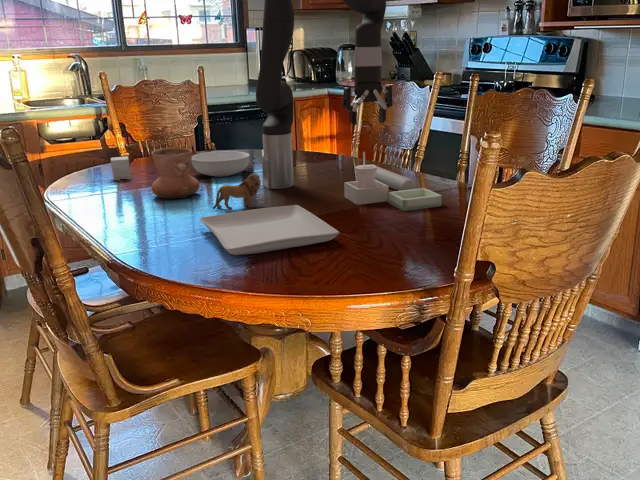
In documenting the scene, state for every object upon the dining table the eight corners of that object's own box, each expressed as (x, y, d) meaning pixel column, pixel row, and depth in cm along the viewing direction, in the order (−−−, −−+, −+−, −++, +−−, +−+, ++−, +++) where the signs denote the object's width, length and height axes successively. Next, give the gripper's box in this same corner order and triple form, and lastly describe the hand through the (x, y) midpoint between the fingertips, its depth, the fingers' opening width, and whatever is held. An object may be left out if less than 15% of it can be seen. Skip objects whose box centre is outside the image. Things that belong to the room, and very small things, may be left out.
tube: (420, 180, 179) (379, 165, 201) (406, 177, 177) (366, 162, 198) (415, 197, 180) (375, 180, 202) (400, 194, 178) (362, 177, 199)
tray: (403, 210, 162) (403, 200, 161) (387, 202, 171) (387, 192, 170) (441, 206, 165) (442, 195, 165) (424, 197, 174) (424, 187, 173)
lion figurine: (258, 201, 176) (256, 171, 173) (264, 205, 171) (263, 175, 168) (210, 208, 170) (207, 177, 167) (215, 212, 165) (213, 181, 162)
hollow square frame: (357, 204, 169) (357, 189, 168) (344, 196, 178) (344, 182, 176) (388, 201, 172) (388, 185, 171) (374, 193, 181) (374, 179, 179)
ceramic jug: (208, 197, 181) (204, 151, 177) (162, 205, 174) (157, 157, 169) (187, 186, 196) (183, 144, 191) (144, 193, 188) (138, 149, 184)
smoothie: (353, 196, 178) (353, 150, 173) (374, 195, 178) (375, 149, 174) (356, 202, 172) (356, 154, 167) (378, 201, 172) (379, 153, 168)
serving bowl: (261, 175, 210) (260, 155, 208) (206, 183, 199) (204, 163, 197) (234, 166, 227) (233, 148, 225) (183, 173, 216) (181, 155, 214)
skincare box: (131, 176, 214) (128, 155, 212) (131, 179, 209) (128, 158, 206) (113, 177, 213) (110, 157, 210) (113, 181, 207) (110, 160, 205)
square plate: (227, 264, 127) (226, 247, 126) (199, 230, 151) (198, 215, 150) (341, 245, 137) (341, 229, 136) (298, 216, 161) (297, 202, 160)
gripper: (385, 63, 168) (384, 120, 173) (338, 64, 164) (339, 124, 169) (397, 63, 162) (396, 123, 167) (349, 65, 157) (350, 127, 162)
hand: (367, 123), depth 168 cm, fingers open, 8 cm apart
